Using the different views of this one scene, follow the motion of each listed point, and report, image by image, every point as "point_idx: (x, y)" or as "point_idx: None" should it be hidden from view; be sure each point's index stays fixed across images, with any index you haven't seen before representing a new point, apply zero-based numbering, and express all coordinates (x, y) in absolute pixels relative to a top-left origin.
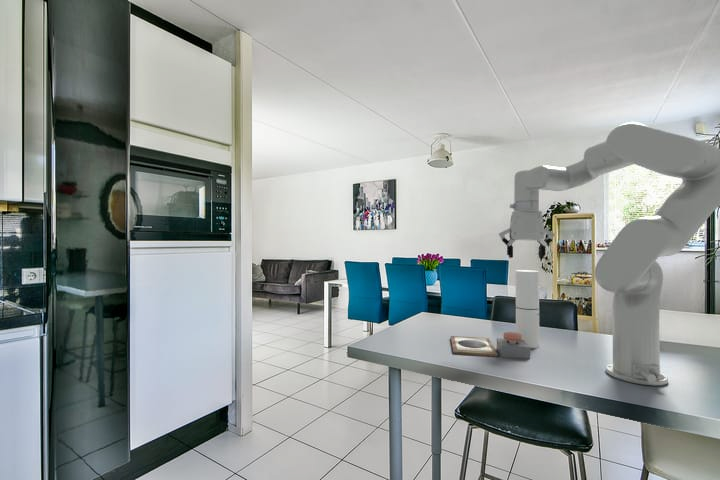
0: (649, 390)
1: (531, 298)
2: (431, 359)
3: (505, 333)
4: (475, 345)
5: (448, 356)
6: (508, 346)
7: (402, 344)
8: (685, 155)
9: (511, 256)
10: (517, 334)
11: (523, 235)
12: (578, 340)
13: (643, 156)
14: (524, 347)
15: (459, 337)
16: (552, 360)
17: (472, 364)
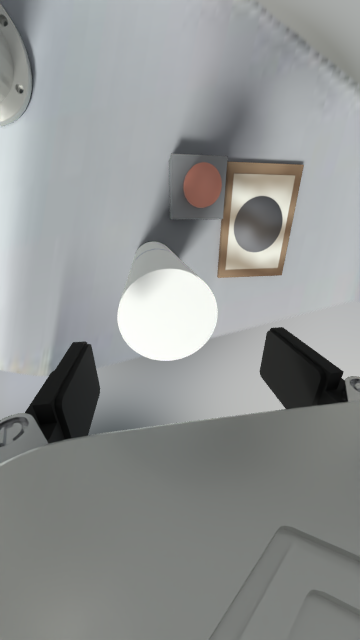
0: None
1: (155, 252)
2: (348, 118)
3: (216, 191)
4: (255, 213)
5: (313, 146)
6: (213, 155)
7: None
8: None
9: (280, 328)
10: (192, 186)
11: (355, 477)
12: (54, 316)
13: None
14: (182, 154)
15: (269, 266)
16: (127, 158)
17: (284, 96)
